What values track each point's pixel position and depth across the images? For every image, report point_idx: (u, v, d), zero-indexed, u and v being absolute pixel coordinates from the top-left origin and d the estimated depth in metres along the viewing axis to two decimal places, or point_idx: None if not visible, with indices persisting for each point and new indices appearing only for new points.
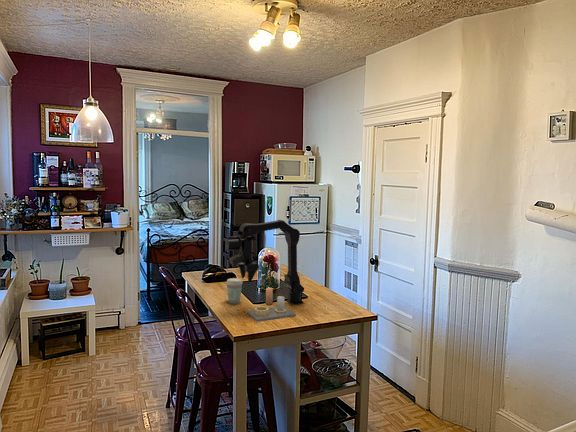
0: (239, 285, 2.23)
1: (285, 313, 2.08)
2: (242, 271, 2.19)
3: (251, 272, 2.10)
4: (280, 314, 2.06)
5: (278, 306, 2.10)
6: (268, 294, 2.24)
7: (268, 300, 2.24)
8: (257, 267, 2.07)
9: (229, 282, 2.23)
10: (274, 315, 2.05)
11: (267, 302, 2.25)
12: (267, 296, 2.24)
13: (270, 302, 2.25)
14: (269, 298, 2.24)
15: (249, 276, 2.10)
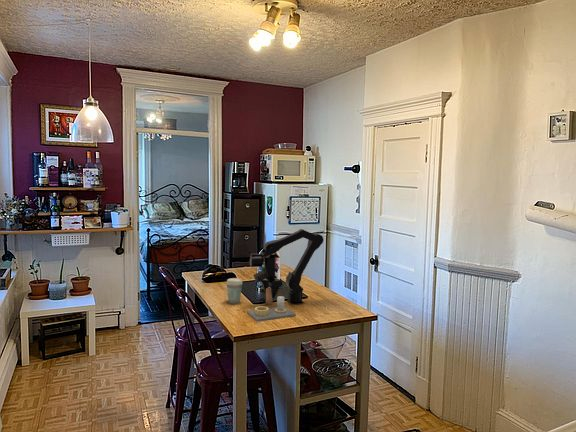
0: (239, 285, 2.23)
1: (285, 313, 2.08)
2: (265, 287, 2.29)
3: (275, 288, 2.20)
4: (280, 314, 2.06)
5: (278, 306, 2.10)
6: (268, 294, 2.24)
7: (268, 300, 2.24)
8: (281, 284, 2.17)
9: (229, 282, 2.23)
10: (274, 315, 2.05)
11: (267, 302, 2.25)
12: (267, 296, 2.24)
13: (270, 302, 2.25)
14: (269, 298, 2.24)
15: (273, 292, 2.20)
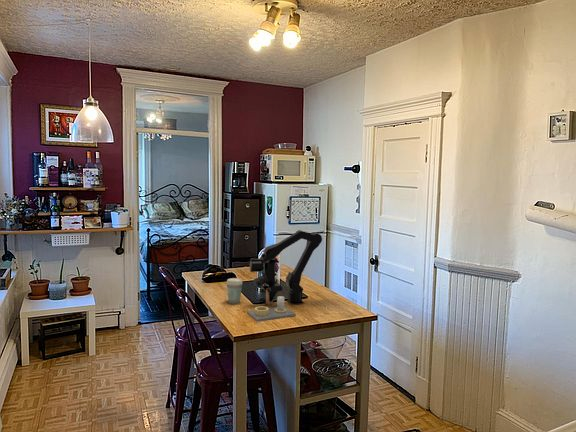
0: (239, 285, 2.23)
1: (285, 313, 2.08)
2: None
3: (272, 292, 2.23)
4: (280, 314, 2.06)
5: (278, 306, 2.10)
6: (268, 294, 2.24)
7: (268, 300, 2.24)
8: (280, 289, 2.18)
9: (229, 282, 2.23)
10: (274, 315, 2.05)
11: (267, 302, 2.25)
12: (267, 296, 2.24)
13: (270, 302, 2.25)
14: None
15: (270, 296, 2.23)
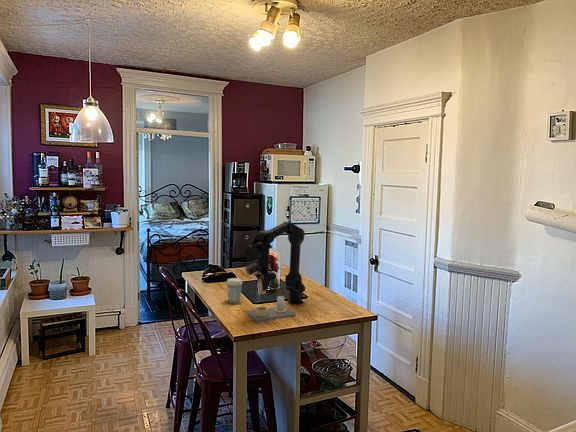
0: (239, 285, 2.23)
1: (285, 313, 2.08)
2: None
3: (265, 280, 2.05)
4: (280, 314, 2.06)
5: (278, 306, 2.10)
6: (261, 283, 2.06)
7: (261, 289, 2.06)
8: (274, 277, 2.00)
9: (229, 282, 2.23)
10: (274, 315, 2.05)
11: (260, 292, 2.06)
12: (260, 285, 2.06)
13: (263, 292, 2.06)
14: None
15: (263, 285, 2.04)
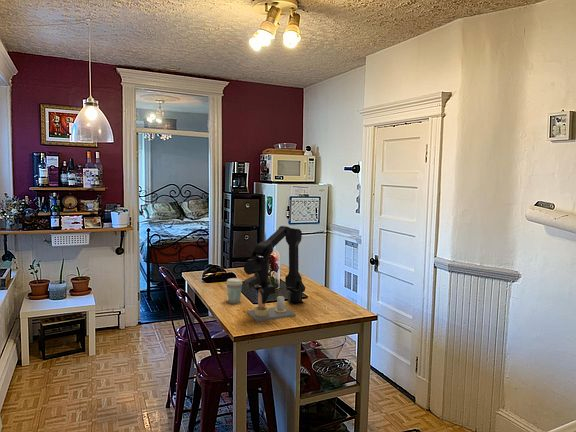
0: (239, 285, 2.23)
1: (285, 313, 2.08)
2: None
3: (265, 293, 2.03)
4: (280, 314, 2.06)
5: (278, 306, 2.10)
6: (260, 296, 2.04)
7: (261, 302, 2.05)
8: (274, 290, 1.98)
9: (229, 282, 2.23)
10: (274, 315, 2.05)
11: (259, 304, 2.05)
12: (259, 298, 2.05)
13: (263, 304, 2.05)
14: None
15: (263, 298, 2.03)
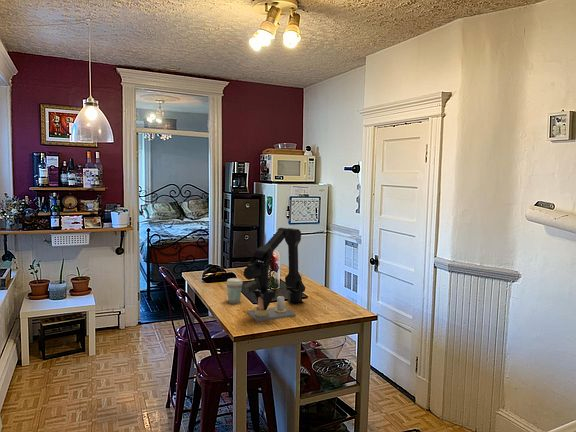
0: (239, 285, 2.23)
1: (285, 313, 2.08)
2: None
3: (267, 300, 2.02)
4: (280, 314, 2.06)
5: (278, 306, 2.10)
6: (260, 303, 2.05)
7: None
8: (274, 295, 1.98)
9: (229, 282, 2.23)
10: (274, 315, 2.05)
11: None
12: (259, 306, 2.05)
13: None
14: (262, 308, 2.05)
15: (265, 304, 2.01)
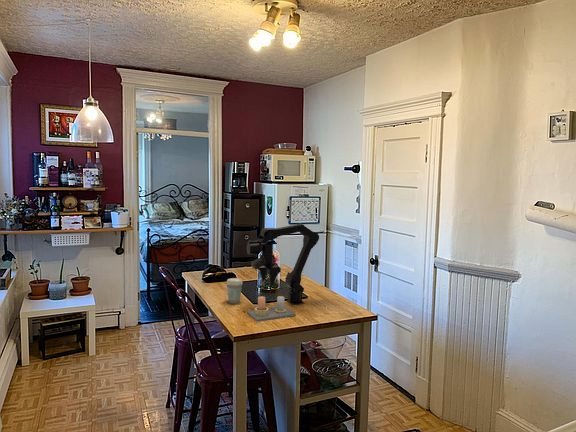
0: (239, 285, 2.23)
1: (285, 313, 2.08)
2: (262, 274, 2.26)
3: (273, 275, 2.17)
4: (280, 314, 2.06)
5: (278, 306, 2.10)
6: (260, 303, 2.05)
7: None
8: (279, 270, 2.14)
9: (229, 282, 2.23)
10: (274, 315, 2.05)
11: None
12: (259, 306, 2.05)
13: None
14: (262, 308, 2.05)
15: (271, 279, 2.16)
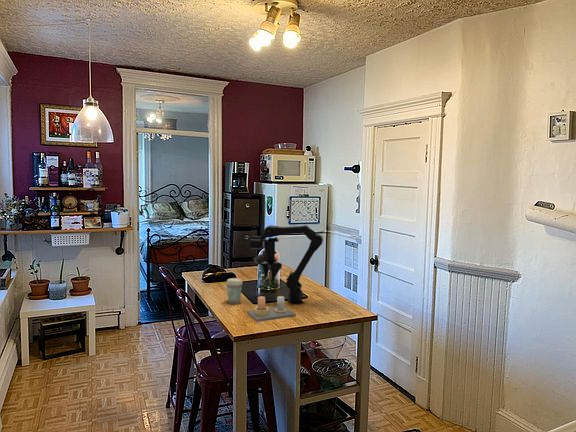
0: (239, 285, 2.23)
1: (285, 313, 2.08)
2: (265, 270, 2.34)
3: (274, 271, 2.25)
4: (280, 314, 2.06)
5: (278, 306, 2.10)
6: (260, 303, 2.05)
7: None
8: (280, 266, 2.22)
9: (229, 282, 2.23)
10: (274, 315, 2.05)
11: None
12: (259, 306, 2.05)
13: None
14: (262, 308, 2.05)
15: (272, 275, 2.25)
